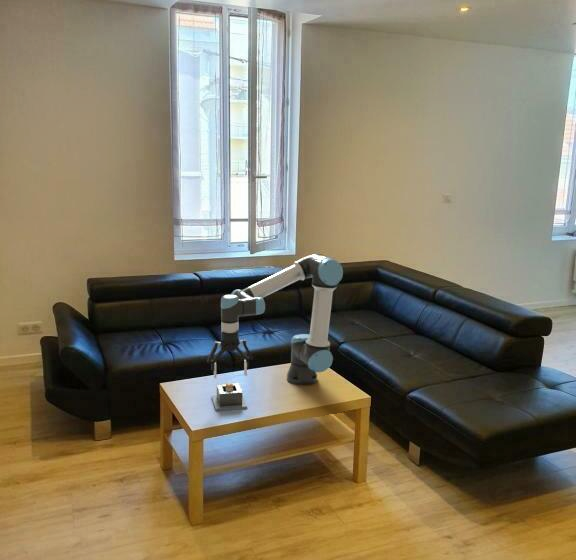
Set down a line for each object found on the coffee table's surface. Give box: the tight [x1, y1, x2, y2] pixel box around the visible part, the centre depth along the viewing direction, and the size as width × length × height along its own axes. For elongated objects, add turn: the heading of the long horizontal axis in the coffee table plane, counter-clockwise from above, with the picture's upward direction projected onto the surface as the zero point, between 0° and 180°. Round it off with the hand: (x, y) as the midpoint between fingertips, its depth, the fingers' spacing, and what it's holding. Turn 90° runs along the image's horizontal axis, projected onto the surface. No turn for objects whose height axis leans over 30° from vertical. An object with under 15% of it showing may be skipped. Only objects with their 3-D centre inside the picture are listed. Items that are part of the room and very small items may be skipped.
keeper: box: [211, 382, 248, 412], centre depth 259 cm, size 14×14×9 cm
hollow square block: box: [216, 382, 243, 407], centre depth 259 cm, size 10×10×6 cm
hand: (230, 375), depth 257 cm, fingers open, 13 cm apart
